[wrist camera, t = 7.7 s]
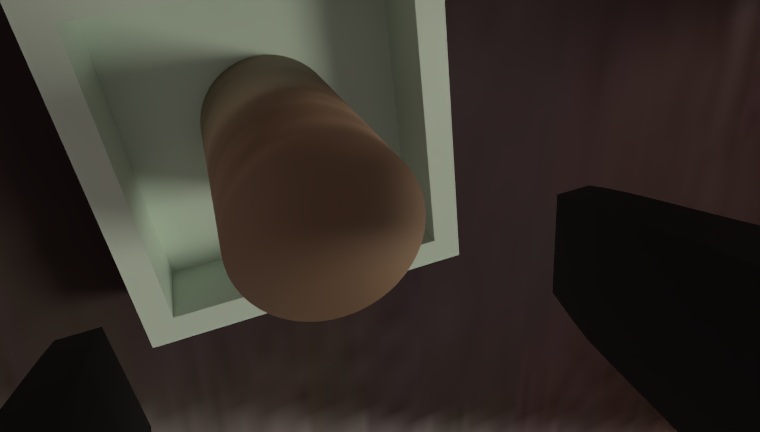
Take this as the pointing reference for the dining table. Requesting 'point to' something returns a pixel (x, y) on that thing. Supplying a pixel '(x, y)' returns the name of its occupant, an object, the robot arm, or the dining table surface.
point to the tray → (183, 131)
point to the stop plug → (305, 193)
